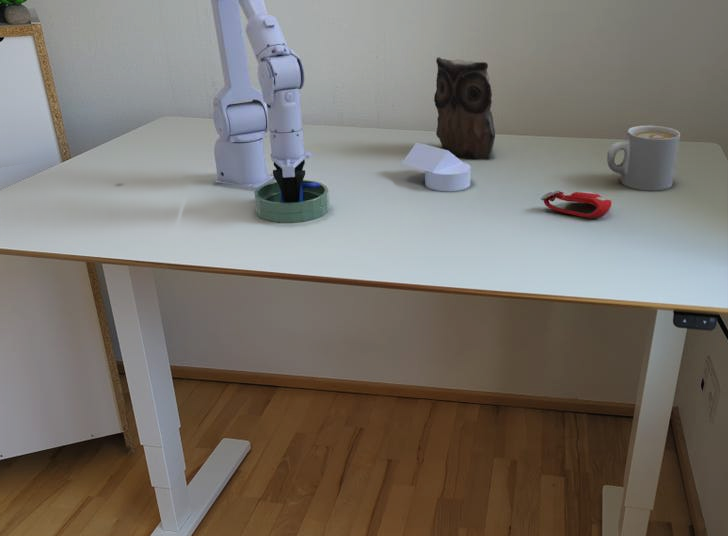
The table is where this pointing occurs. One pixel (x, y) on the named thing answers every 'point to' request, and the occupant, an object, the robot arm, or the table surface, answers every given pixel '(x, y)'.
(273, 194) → the green plant saucer
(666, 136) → the coffee mug
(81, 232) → the table surface
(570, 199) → the tracker holder
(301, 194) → the scoop
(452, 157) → the wedge on round base
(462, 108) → the owl
